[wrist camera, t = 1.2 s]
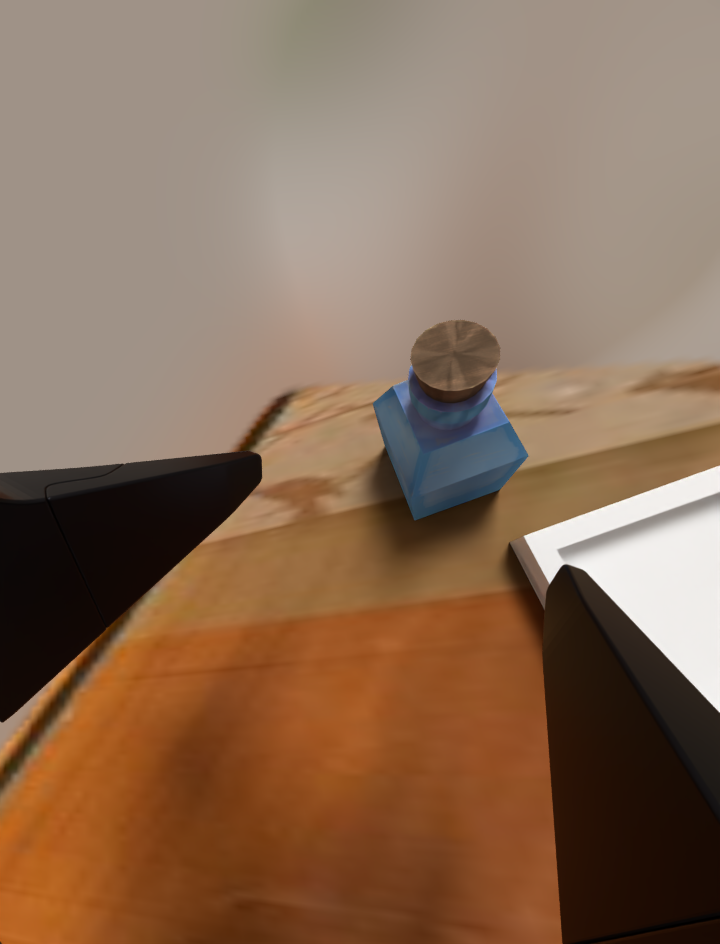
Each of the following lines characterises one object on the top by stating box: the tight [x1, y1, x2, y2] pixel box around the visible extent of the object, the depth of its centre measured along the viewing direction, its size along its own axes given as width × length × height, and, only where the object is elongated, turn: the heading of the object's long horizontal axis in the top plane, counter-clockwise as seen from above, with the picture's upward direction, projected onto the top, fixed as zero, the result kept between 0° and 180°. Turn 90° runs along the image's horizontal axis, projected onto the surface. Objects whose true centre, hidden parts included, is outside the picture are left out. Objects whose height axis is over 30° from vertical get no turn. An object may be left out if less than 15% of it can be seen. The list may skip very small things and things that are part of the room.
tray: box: [510, 466, 720, 712], centre depth 15 cm, size 13×13×3 cm
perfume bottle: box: [373, 320, 528, 520], centre depth 17 cm, size 6×6×12 cm
